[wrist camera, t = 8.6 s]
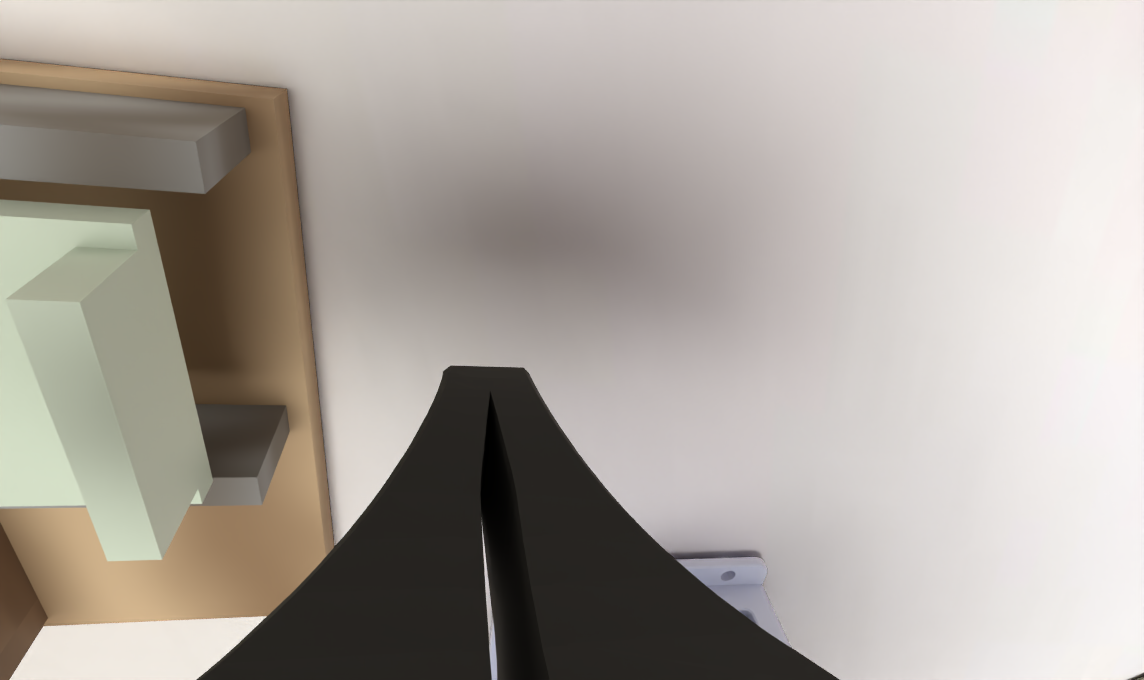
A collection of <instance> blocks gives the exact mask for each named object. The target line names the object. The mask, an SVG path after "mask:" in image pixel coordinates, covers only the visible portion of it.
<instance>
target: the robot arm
mask: <svg viewBox="0 0 1144 680" xmlns="http://www.w3.org/2000/svg"><path fill="white" fill-rule="evenodd" d="M481 517H482V519H481ZM482 526H483V535H484V544H485V553H486V562H487V571H488V579H489V588H490V597H491V606H492V614H493V615H492V625H491V634H490V644H489V636H488V622H487V607H486V593H485V576H484V558H483V540H482ZM767 572H768V569H767V567H766V565H765V563H764V561H763V559H761V558H759V557H736V558H706V559H675V558H673V557H672V556H671V555H670V554H669V553H668V552H666V551H665V550H664V549H663V548H662V547H661V546H660V545H659V544H658V543H657V542H656V541H655V540H654V539H653V538H652V537H651V536H650V535H649V534H648V533H647V532H646V531H645V530H644V529H643V528H642V527H641V526H640V525H639V524H638V523H637V522H636V521H635V520H634V519H633V518H632V517H631V516H630V515H629V514H628V513H627V512H626V511H625V509H624V508H623V507H622V506H621V505H620V504H619V503H618V502H617V501H616V499H615V498H614V497H613V496H612V495H611V494H610V492H609V491H608V490H607V489H606V488H605V487H604V485H603V484H602V483H601V482H600V480H599V479H598V478H597V477H596V475H595V474H594V473H593V472H592V470H591V469H590V468H589V467H588V465H587V464H586V463H585V461H584V460H583V459H582V457H581V456H580V455H579V453H578V452H577V451H576V449H575V448H574V446H573V445H572V444H571V442H570V441H569V439H568V438H567V436H566V435H565V433H564V432H563V431H562V429H561V428H560V426H559V425H558V423H557V422H556V420H555V419H554V417H553V415H552V414H551V412H550V410H549V409H548V407H547V406H546V404H545V402H544V401H543V399H542V397H541V395H540V394H539V392H538V390H537V388H536V386H535V384H534V383H533V381H532V379H531V377H530V374H529V373H528V372H527V371H526V370H525V369H524V368H515V367H479V366H450V367H448V368H447V369H446V370H444V371H443V376H442V380H441V383H440V386H439V389H438V392H437V394H436V396H435V399H434V401H433V403H432V405H431V407H430V409H429V411H428V414H427V416H426V417H425V419H424V421H423V423H422V425H421V426H420V428H419V430H418V432H417V434H416V435H415V437H414V439H413V441H412V443H411V444H410V446H409V448H408V449H407V451H406V453H405V454H404V456H403V457H402V459H401V460H400V462H399V463H398V465H397V466H396V468H395V469H394V471H393V472H392V474H391V475H390V477H389V478H388V480H387V481H386V483H385V484H384V486H383V487H382V488H381V490H380V491H379V493H378V494H377V495H376V497H375V498H374V499H373V501H372V502H371V503H370V505H369V506H368V507H367V509H366V510H365V511H364V512H363V514H362V515H361V516H360V517H359V519H358V520H357V521H356V522H355V524H354V525H353V526H352V527H351V528H350V530H349V531H348V532H347V533H346V534H345V536H344V537H343V538H342V539H341V540H340V541H339V542H338V544H337V545H336V546H335V547H334V548H333V549H332V550H331V551H330V553H329V554H328V555H327V556H326V557H325V558H324V559H323V560H322V562H321V563H320V564H319V565H318V566H317V567H316V568H315V569H314V570H313V571H312V572H311V574H310V575H309V576H308V577H307V578H306V579H305V580H304V581H303V582H302V583H301V584H300V585H299V586H298V587H297V588H296V589H295V590H294V591H293V592H292V593H291V594H290V595H289V596H288V597H287V598H286V599H285V600H284V601H283V602H282V603H281V604H280V605H279V606H277V607H276V608H275V609H274V610H273V611H272V612H271V613H270V614H269V615H268V616H267V617H266V618H265V619H264V620H263V621H262V622H261V623H260V624H259V625H258V626H256V627H255V628H254V629H253V630H252V631H251V632H250V633H249V634H248V635H247V636H246V637H245V638H244V639H243V640H242V641H241V642H240V643H239V644H238V645H236V646H235V647H234V648H233V649H232V650H231V651H230V652H229V653H227V654H226V655H225V656H224V657H223V658H222V659H221V660H220V661H218V662H217V663H216V664H215V665H214V666H213V667H211V668H210V669H209V670H208V671H207V672H205V673H204V674H203V675H202V676H201V677H199V678H198V679H197V680H839V679H838V678H836V677H835V676H833V675H832V674H830V673H829V672H827V671H826V670H824V669H823V668H821V667H820V666H818V665H816V664H815V663H813V662H812V661H810V660H809V659H807V658H806V657H804V656H803V655H801V654H800V653H798V652H797V651H795V650H794V649H792V647H791V645H790V643H789V641H788V639H787V637H786V635H785V632H784V630H783V628H782V626H781V624H780V622H779V620H778V617H777V615H776V613H775V611H774V609H773V607H772V604H771V602H770V600H769V598H768V596H767V594H766V592H765V589H764V587H763V585H762V584H763V582H764V580H765V577H766V575H767Z"/></svg>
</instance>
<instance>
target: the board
mask: <svg viewBox="0 0 1144 680" xmlns="http://www.w3.org/2000/svg"><path fill="white" fill-rule="evenodd" d="M0 199H1V200H16V201H31V202H45V203H60V204H75V205H90V206H104V207H119V208H134V209H148V210H150V213H151V217H152V222H153V226H154V230H155V234H156V239H157V243H158V247H159V252H160V256H161V260H162V264H163V269H164V273H165V277H166V282H167V286H168V290H169V294H170V299H171V303H172V307H173V311H174V316H175V320H176V324H177V329H178V333H179V337H180V341H181V346H182V350H183V354H184V359H185V363H186V367H187V371H188V376H189V380H190V384H191V388H192V393H193V397H194V401H195V406H196V410H197V414H198V418H199V423H200V427H201V431H202V436H203V440H204V444H205V448H206V453H207V457H208V461H209V465H210V470H211V474H212V478H213V482H212V485H211V487H210V489H209V491H208V493H207V495H206V497H205V499H204V501H203V503H202V504H190V506H189V508H188V510H187V512H186V514H185V516H184V518H183V520H182V522H181V524H180V526H179V528H178V530H177V531H176V533H175V535H174V537H173V539H172V541H171V543H170V545H169V547H168V549H167V551H166V553H165V555H164V557H163V559H162V560H134V561H107V559H106V556H105V554H104V551H103V548H102V546H101V543H100V541H99V538H98V536H97V533H96V531H95V528H94V525H93V523H92V520H91V518H90V515H89V513H88V510H87V507H86V505H79V506H3V507H0V523H1V525H2V527H3V529H4V531H5V533H6V535H7V537H8V539H9V541H10V543H11V545H12V547H13V549H14V551H15V553H16V555H17V557H18V559H19V561H20V563H21V565H22V567H23V569H24V571H25V573H26V575H27V577H28V579H29V581H30V583H31V585H32V587H33V589H34V591H35V593H36V595H37V597H38V599H39V601H40V603H41V605H42V607H43V609H44V611H45V613H46V615H47V617H48V619H47V621H46V622H45V624H44V626H56V625H78V624H100V623H122V622H145V621H167V620H189V619H211V618H233V617H255V616H268V615H269V614H270V613H271V612H272V611H273V610H274V609H275V608H276V607H277V606H279V605H280V604H281V603H282V602H283V601H284V600H285V599H286V598H287V597H288V596H289V595H290V594H291V593H292V592H293V591H294V590H295V589H296V588H297V587H298V586H299V585H300V584H301V583H302V582H303V581H304V580H305V579H306V578H307V577H308V576H309V575H310V574H311V572H312V571H313V570H314V569H315V568H316V567H317V566H318V565H319V564H320V563H321V562H322V560H323V559H324V558H325V557H326V556H327V555H328V554H329V553H330V551H331V550H332V549H333V548H334V540H333V530H332V520H331V511H330V501H329V491H328V482H327V472H326V462H325V452H324V443H323V433H322V423H321V414H320V404H319V394H318V385H317V375H316V365H315V356H314V346H313V336H312V327H311V317H310V307H309V298H308V288H307V278H306V269H305V259H304V249H303V240H302V230H301V220H300V211H299V201H298V191H297V182H296V172H295V162H294V152H293V143H292V133H291V123H290V114H289V104H288V94H287V89H282V88H272V87H263V86H253V85H244V84H234V83H225V82H215V81H206V80H196V79H187V78H177V77H168V76H158V75H149V74H139V73H130V72H120V71H111V70H101V69H91V68H82V67H72V66H63V65H53V64H44V63H34V62H25V61H15V60H6V59H0Z"/></svg>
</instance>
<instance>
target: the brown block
mask: <svg viewBox="0 0 1144 680" xmlns="http://www.w3.org/2000/svg"><path fill="white" fill-rule="evenodd" d="M47 619H48V617H47V615H46V613H45V611H44V609H43V607H42V605H41V603H40V601H39V599H38V597H37V595H36V593H35V591H34V589H33V587H32V585H31V583H30V581H29V579H28V577H27V575H26V573H25V571H24V569H23V567H22V565H21V563H20V561H19V559H18V557H17V555H16V553H15V551H14V549H13V547H12V545H11V543H10V541H9V539H8V537H7V535H6V533H5V531H4V529H3V527H2V525H1V523H0V680H9V679H10V678H11V676H12V674H13V673H14V671H15V670H16V668H17V667H18V665H19V663H20V662H21V660H22V659H23V657H24V656H25V654H26V652H27V651H28V649H29V648H30V646H31V644H32V643H33V641H34V640H35V638H36V637H37V635H38V633H39V632H40V630H41V629H42V627H43V626H44V624H45V622H46V621H47Z"/></svg>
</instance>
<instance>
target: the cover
mask: <svg viewBox="0 0 1144 680" xmlns="http://www.w3.org/2000/svg"><path fill="white" fill-rule="evenodd" d="M212 482H213V478H212V474H211V470H210V465H209V461H208V457H207V453H206V448H205V444H204V440H203V436H202V431H201V427H200V423H199V418H198V414H197V410H196V406H195V401H194V397H193V393H192V388H191V384H190V380H189V376H188V371H187V367H186V363H185V359H184V354H183V350H182V346H181V341H180V337H179V333H178V329H177V324H176V320H175V316H174V311H173V307H172V303H171V299H170V294H169V290H168V286H167V282H166V277H165V273H164V269H163V264H162V260H161V256H160V252H159V247H158V243H157V239H156V234H155V230H154V226H153V222H152V217H151V213H150V210H148V209H134V208H119V207H104V206H90V205H75V204H60V203H45V202H31V201H16V200H1V199H0V507H3V506H79V505H86V507H87V510H88V513H89V515H90V518H91V520H92V523H93V525H94V528H95V531H96V533H97V536H98V538H99V541H100V543H101V546H102V548H103V551H104V554H105V556H106V559H107V561H134V560H162V559H163V557H164V555H165V553H166V551H167V549H168V547H169V545H170V543H171V541H172V539H173V537H174V535H175V533H176V531H177V530H178V528H179V526H180V524H181V522H182V520H183V518H184V516H185V514H186V512H187V510H188V508H189V506H190V504H202V503H203V501H204V499H205V497H206V495H207V493H208V491H209V489H210V487H211V485H212Z"/></svg>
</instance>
